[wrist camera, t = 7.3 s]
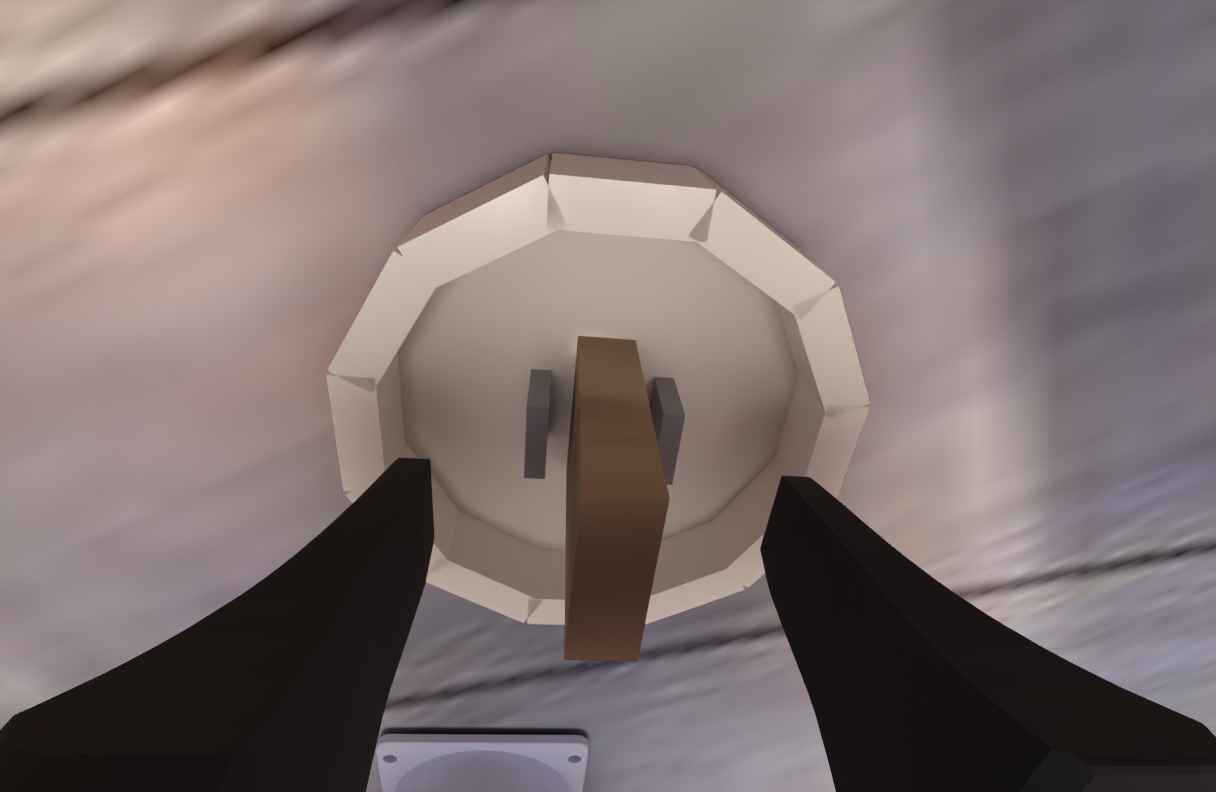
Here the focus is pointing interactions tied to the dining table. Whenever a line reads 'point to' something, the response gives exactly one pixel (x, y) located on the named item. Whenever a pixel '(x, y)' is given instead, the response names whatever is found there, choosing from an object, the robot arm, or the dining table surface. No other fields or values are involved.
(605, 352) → the brown wooden block
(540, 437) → the white shallow dish
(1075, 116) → the dining table surface
